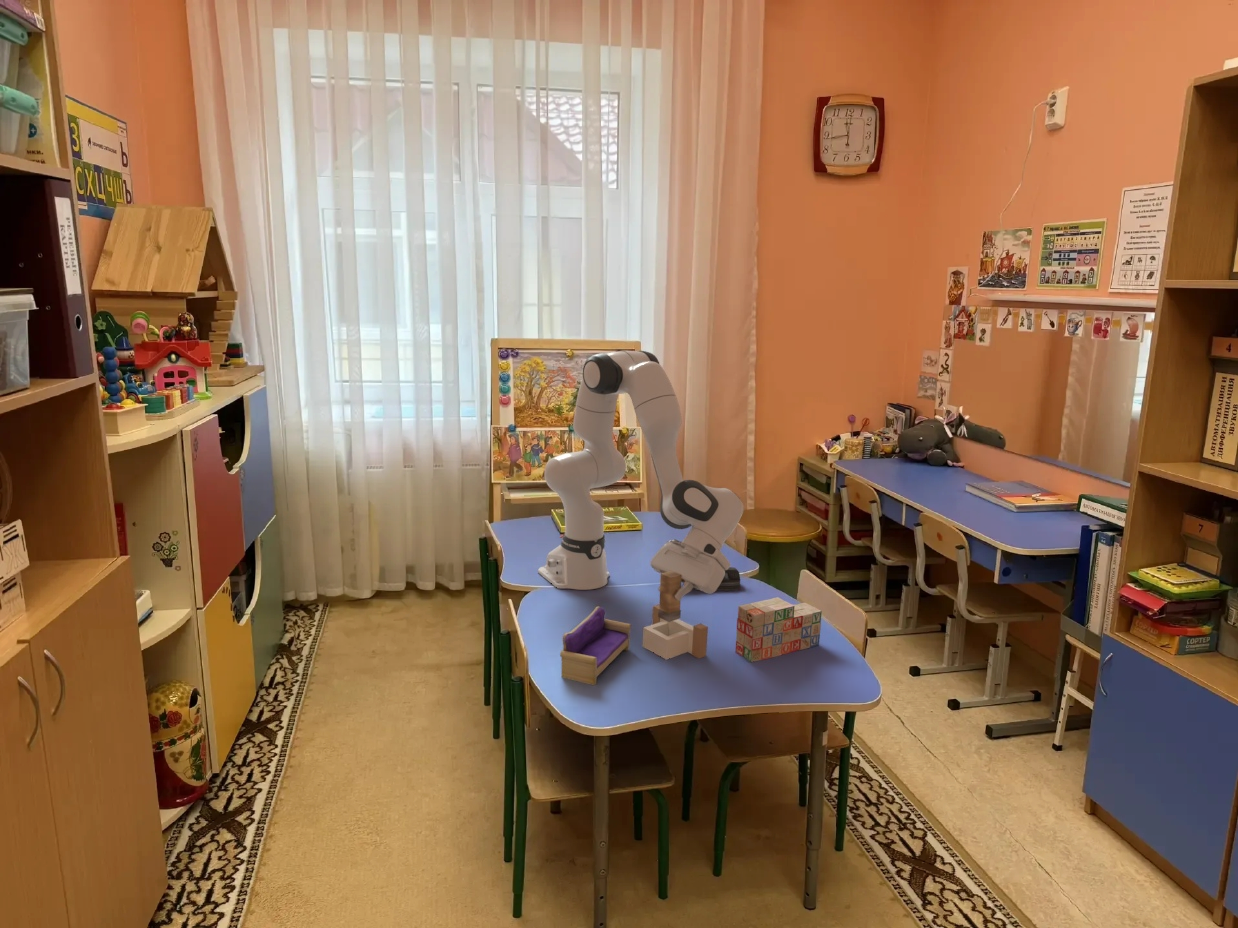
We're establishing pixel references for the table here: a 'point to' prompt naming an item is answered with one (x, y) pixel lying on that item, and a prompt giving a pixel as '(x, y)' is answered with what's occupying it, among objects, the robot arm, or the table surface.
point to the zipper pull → (729, 580)
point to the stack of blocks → (776, 628)
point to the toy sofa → (593, 646)
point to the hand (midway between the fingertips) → (668, 595)
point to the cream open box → (674, 637)
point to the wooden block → (669, 596)
